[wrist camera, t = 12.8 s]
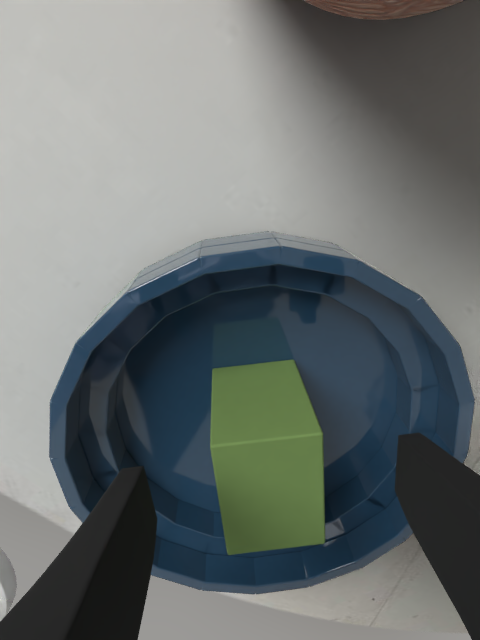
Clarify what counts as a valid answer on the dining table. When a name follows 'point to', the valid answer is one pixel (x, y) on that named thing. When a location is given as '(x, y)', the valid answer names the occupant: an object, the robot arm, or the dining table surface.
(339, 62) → the dining table surface
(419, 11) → the planter
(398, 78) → the dining table surface
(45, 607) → the robot arm
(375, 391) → the bowl
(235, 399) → the scrub pad
